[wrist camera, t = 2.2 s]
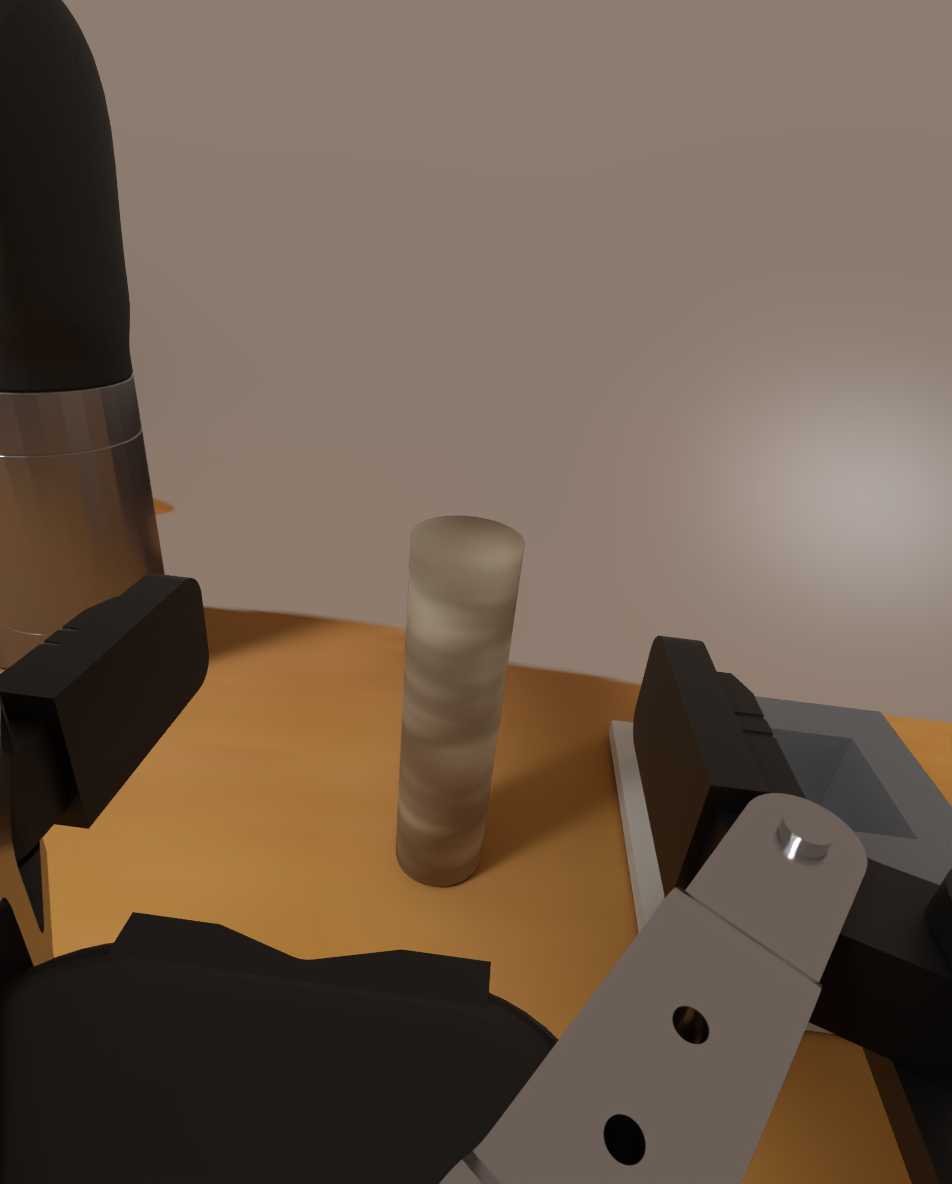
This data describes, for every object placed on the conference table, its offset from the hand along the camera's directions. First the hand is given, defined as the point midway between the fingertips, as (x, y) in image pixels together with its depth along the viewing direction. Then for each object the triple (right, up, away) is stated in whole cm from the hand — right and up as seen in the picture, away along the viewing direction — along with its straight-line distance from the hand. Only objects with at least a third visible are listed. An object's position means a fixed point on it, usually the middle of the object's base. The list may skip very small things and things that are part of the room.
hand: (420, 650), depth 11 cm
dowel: (-1, -11, +19) cm, 22 cm away
